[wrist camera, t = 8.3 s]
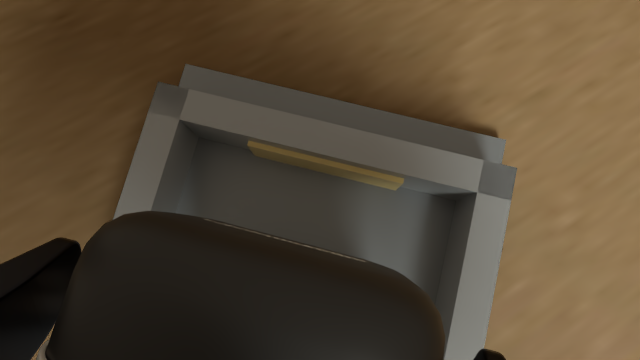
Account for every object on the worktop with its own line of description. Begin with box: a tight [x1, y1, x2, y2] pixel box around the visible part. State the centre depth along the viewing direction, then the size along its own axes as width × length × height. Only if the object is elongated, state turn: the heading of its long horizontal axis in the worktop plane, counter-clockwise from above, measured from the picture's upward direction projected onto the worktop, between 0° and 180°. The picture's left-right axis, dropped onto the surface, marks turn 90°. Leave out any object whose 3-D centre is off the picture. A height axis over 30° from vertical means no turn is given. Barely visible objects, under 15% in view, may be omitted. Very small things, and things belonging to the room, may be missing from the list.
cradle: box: [113, 64, 517, 360], centre depth 17 cm, size 16×14×3 cm
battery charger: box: [36, 211, 445, 360], centre depth 12 cm, size 7×4×11 cm, turn 75°
